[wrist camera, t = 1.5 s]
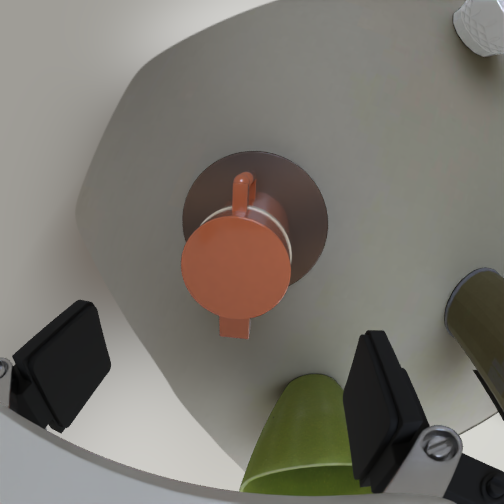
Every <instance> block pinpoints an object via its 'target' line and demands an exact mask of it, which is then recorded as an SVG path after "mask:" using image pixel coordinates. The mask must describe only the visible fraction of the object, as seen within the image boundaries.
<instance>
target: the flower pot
mask: <svg viewBox="0 0 504 504" xmlns="http://www.w3.org/2000/svg"><path fill="white" fill-rule="evenodd" d="M343 392H344V391H343V390H342V388H341V387H340V386H339V385H338V383H337V382H336V381H335V380H334V379H332V378H331V377H328V376H325V375H321V374H309V375H304V376H301V377H298V378H296V379H295V380H293V381H292V382H290V383H289V384H288V386H287V387H286V388H285V390H284V392H283V393H282V395H281V396H280V398H279V400H278V401H277V403H276V405H275V407H274V408H273V410H272V412H271V414H270V416H269V418H268V420H267V422H266V424H265V426H264V428H263V430H262V433H261V435H260V437H259V439H258V441H257V444H256V446H255V448H254V451H253V453H252V456H251V458H250V461H249V464H248V467H247V469H246V472H245V475H244V478H243V481H242V484H241V487H240V491H239V492H246V493H256V494H268V495H287V496H338V495H361V494H374V493H372V492H371V486H370V487H361V488H360V483H359V480H355V479H354V476H353V468H352V460H351V452H350V445H349V438H348V431H347V425H346V418H345V412H344V406H343Z"/></svg>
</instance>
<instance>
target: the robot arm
mask: <svg viewBox="0 0 504 504" xmlns="http://www.w3.org/2000/svg"><path fill="white" fill-rule="evenodd" d="M12 357H13V359H14V361H15V365H14V366H12V363H11V362H10V360H8V359H6V358H0V504H504V472H503V471H501V470H499V469H496V468H494V467H492V466H489V465H487V464H485V463H483V462H480V461H478V460H476V459H474V458H472V457H470V456H467V455H465V454H463V453H462V450H463V444H462V440H461V438H460V436H459V435H458V434H457V433H456V432H455V431H454V430H453V429H451V428H449V427H446V426H442V425H434V426H429V424H428V421H427V418H426V416H425V414H424V411H423V409H422V406H421V404H420V401H419V399H418V397H417V394H416V392H415V390H414V387H413V385H412V383H411V380H410V378H409V376H408V374H407V372H406V370H405V369H403V368H401V366H400V364H399V362H398V359H397V357H396V355H395V353H394V351H393V348H392V346H391V344H390V342H389V340H388V338H387V336H386V334H385V332H384V331H376V330H368V331H366V333H365V335H361V336H360V338H359V341H358V345H357V349H356V352H355V356H354V359H353V363H352V366H351V370H350V373H349V376H348V380H347V383H346V386H345V389H344V392H343V406H344V412H345V418H346V425H347V431H348V438H349V445H350V452H351V460H352V468H353V476H354V479H355V480H359V483H360V488H361V487H370V486H371V492H372V493H374V494H361V495H338V496H287V495H268V494H256V493H246V492H238V491H230V490H224V489H217V488H211V487H206V486H201V485H196V484H191V483H186V482H181V481H178V480H174V479H169V478H166V477H162V476H158V475H155V474H151V473H148V472H145V471H141V470H138V469H135V468H132V467H129V466H126V465H123V464H121V463H118V462H115V461H113V460H110V459H107V458H104V457H102V456H100V455H97V454H95V453H93V452H90V451H88V450H85V449H83V448H81V447H79V446H76V445H74V444H72V443H70V442H68V441H66V440H64V439H62V438H60V437H58V436H56V435H54V434H52V433H50V432H48V431H47V429H46V426H47V425H48V424H49V426H50V427H51V428H52V429H54V430H55V431H57V432H59V433H62V432H63V431H64V429H65V428H67V427H69V426H70V425H71V423H72V422H73V420H74V419H75V418H76V416H77V415H78V413H79V412H80V410H81V409H82V408H83V406H84V405H85V404H86V402H87V401H88V399H89V398H90V397H91V395H92V394H93V392H94V391H95V390H96V388H97V387H98V386H99V384H100V383H101V382H102V380H103V379H104V377H105V376H106V375H107V373H108V372H109V371H110V368H111V362H110V358H109V354H108V351H107V347H106V344H105V340H104V336H103V332H102V328H101V324H100V319H99V315H98V311H97V309H96V307H95V306H94V304H93V303H92V302H89V301H84V300H78V301H76V302H75V303H73V304H72V305H71V306H70V307H68V308H67V309H66V310H65V311H64V312H62V313H61V314H60V315H59V316H58V317H57V318H55V319H54V320H53V321H52V322H50V323H49V324H48V325H47V326H46V327H44V328H43V329H42V330H41V331H40V332H39V333H38V334H36V335H35V336H34V337H33V338H32V339H31V340H29V341H28V342H27V343H26V344H25V345H24V346H23V347H22V348H20V349H19V350H18V351H17V352H16V353H15V354H14V355H13V356H12Z"/></svg>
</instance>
